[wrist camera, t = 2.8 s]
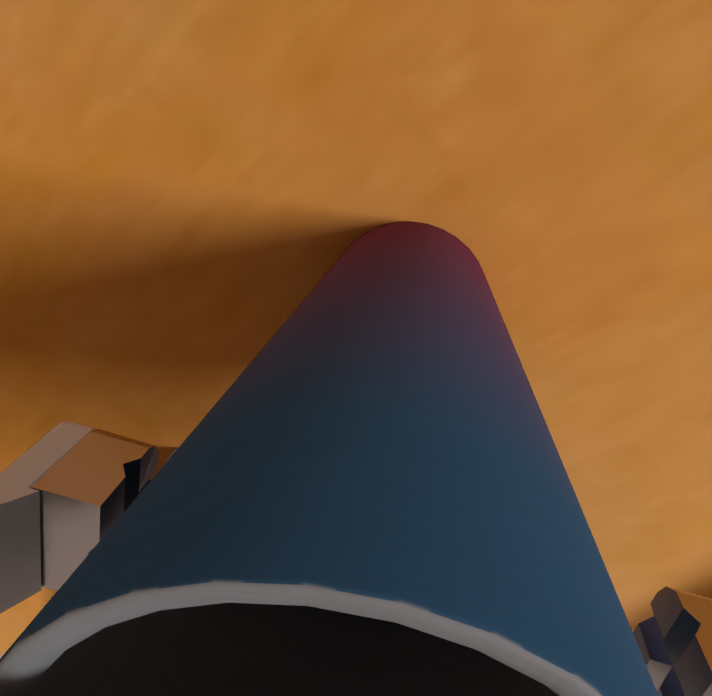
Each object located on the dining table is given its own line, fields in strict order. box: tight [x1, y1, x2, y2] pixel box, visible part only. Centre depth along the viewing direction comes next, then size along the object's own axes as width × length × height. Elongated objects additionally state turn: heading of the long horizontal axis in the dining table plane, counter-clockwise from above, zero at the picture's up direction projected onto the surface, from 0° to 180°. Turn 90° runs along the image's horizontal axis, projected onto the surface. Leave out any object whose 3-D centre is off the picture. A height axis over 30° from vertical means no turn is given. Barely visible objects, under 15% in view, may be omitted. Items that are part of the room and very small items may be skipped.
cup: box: [0, 222, 659, 696], centre depth 12 cm, size 7×7×15 cm
